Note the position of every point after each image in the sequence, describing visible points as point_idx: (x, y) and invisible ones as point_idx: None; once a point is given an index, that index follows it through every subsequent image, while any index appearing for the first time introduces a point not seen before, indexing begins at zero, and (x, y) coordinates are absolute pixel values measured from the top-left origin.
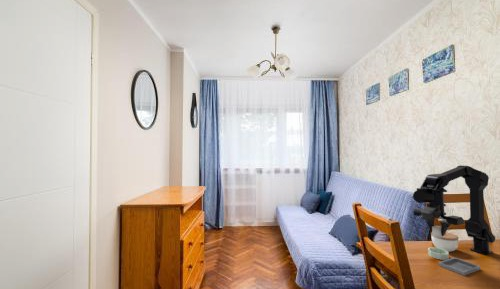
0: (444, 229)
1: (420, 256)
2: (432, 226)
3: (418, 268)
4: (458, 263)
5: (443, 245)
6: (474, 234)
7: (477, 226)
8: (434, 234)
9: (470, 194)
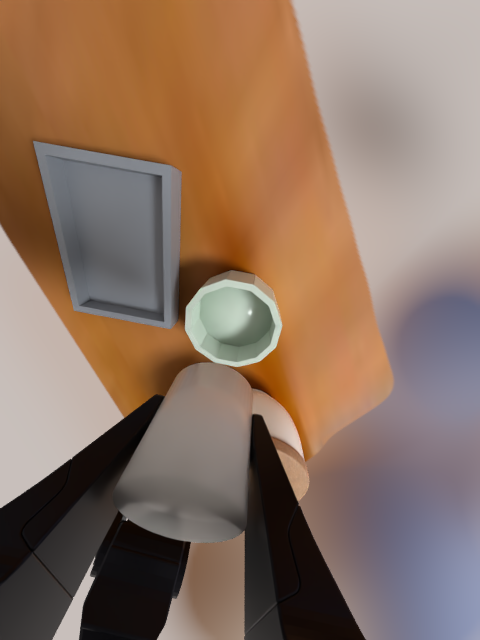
0: (66, 470)
1: (298, 242)
2: (225, 496)
3: None
4: (150, 297)
5: None
6: None
7: (101, 595)
8: (217, 382)
9: None
